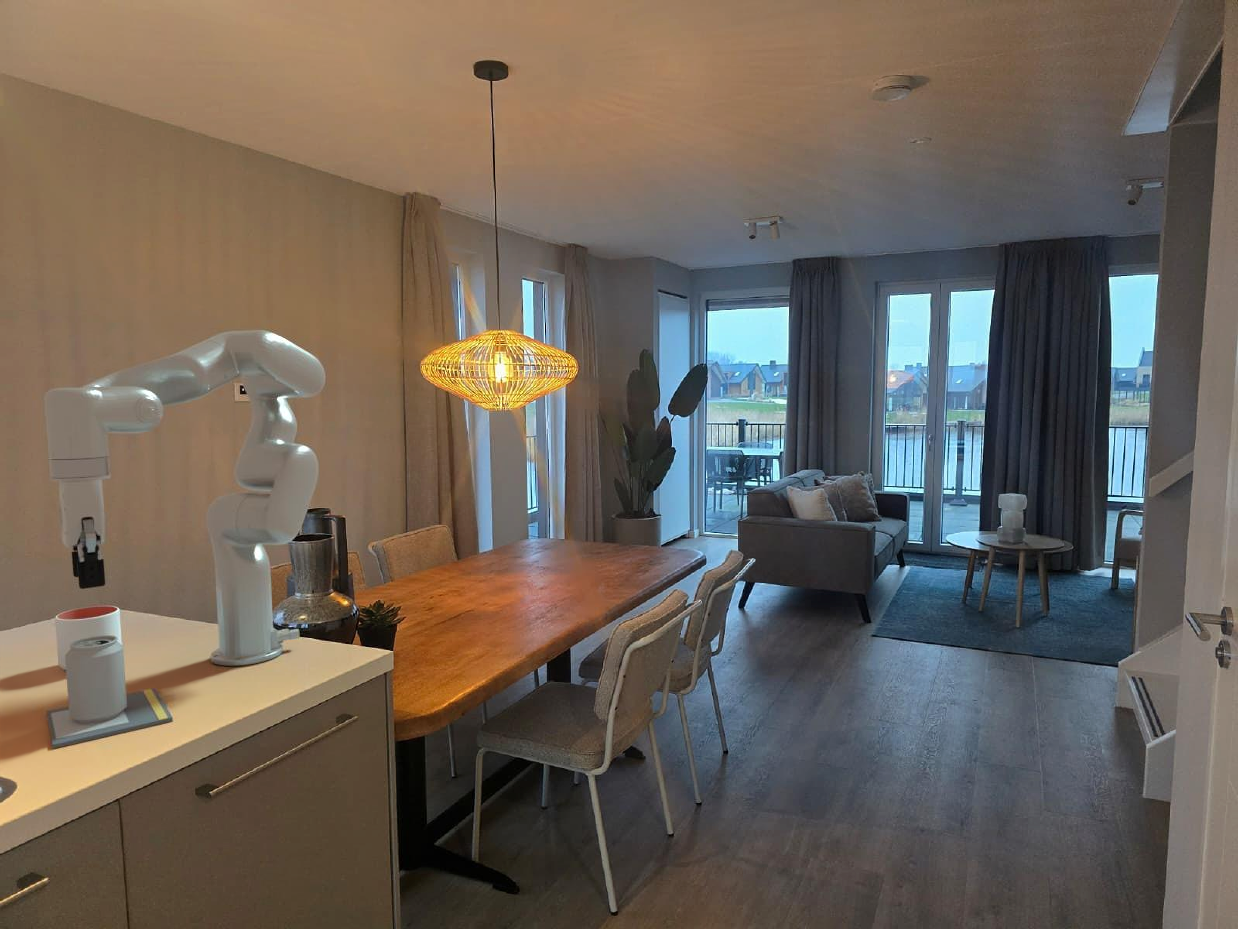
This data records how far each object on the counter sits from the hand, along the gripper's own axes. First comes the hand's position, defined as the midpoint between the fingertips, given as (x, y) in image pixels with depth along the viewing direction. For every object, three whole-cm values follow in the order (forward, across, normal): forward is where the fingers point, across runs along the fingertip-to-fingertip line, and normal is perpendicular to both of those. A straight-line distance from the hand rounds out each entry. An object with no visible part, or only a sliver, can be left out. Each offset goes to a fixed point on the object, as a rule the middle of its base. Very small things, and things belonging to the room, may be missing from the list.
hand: (89, 581), depth 120 cm
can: (+21, 0, 0) cm, 21 cm away
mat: (+22, 0, +1) cm, 22 cm away
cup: (+22, -32, +2) cm, 39 cm away
